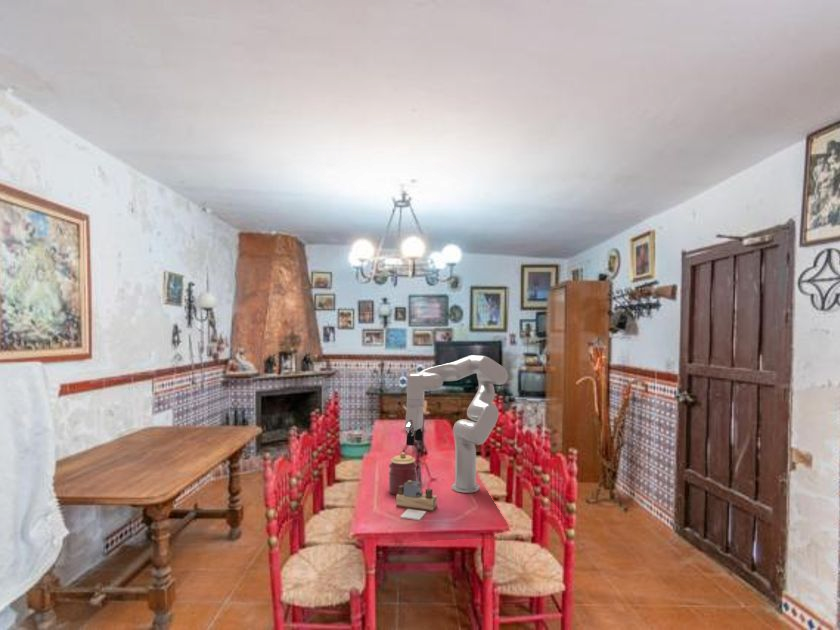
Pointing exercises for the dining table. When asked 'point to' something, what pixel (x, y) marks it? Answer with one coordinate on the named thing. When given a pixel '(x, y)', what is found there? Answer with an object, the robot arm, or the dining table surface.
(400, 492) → the plane body
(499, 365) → the robot arm
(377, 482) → the dining table surface
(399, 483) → the canister
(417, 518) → the felt pad
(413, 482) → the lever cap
